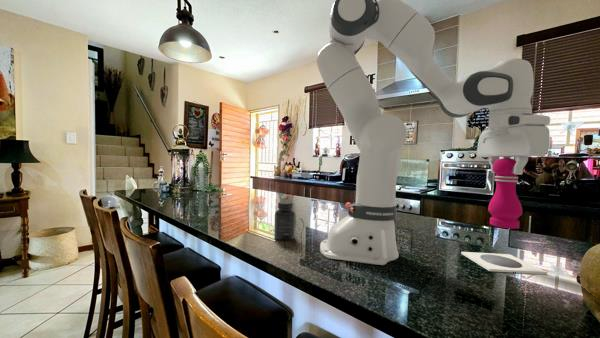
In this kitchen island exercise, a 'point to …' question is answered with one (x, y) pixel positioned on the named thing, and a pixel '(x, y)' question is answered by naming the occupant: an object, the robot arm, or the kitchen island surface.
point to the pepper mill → (505, 196)
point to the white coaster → (502, 263)
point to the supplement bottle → (284, 222)
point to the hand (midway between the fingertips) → (505, 173)
